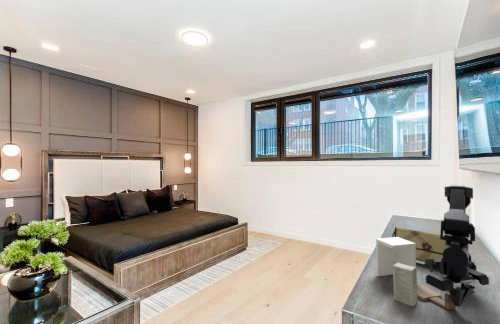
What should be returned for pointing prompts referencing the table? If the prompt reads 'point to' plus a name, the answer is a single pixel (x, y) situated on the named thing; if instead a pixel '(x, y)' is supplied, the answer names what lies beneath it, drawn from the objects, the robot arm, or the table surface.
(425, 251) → the clutch purse
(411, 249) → the white upright block
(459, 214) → the robot arm
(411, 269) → the skincare box
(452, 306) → the tan wooden paddle
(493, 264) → the table surface
